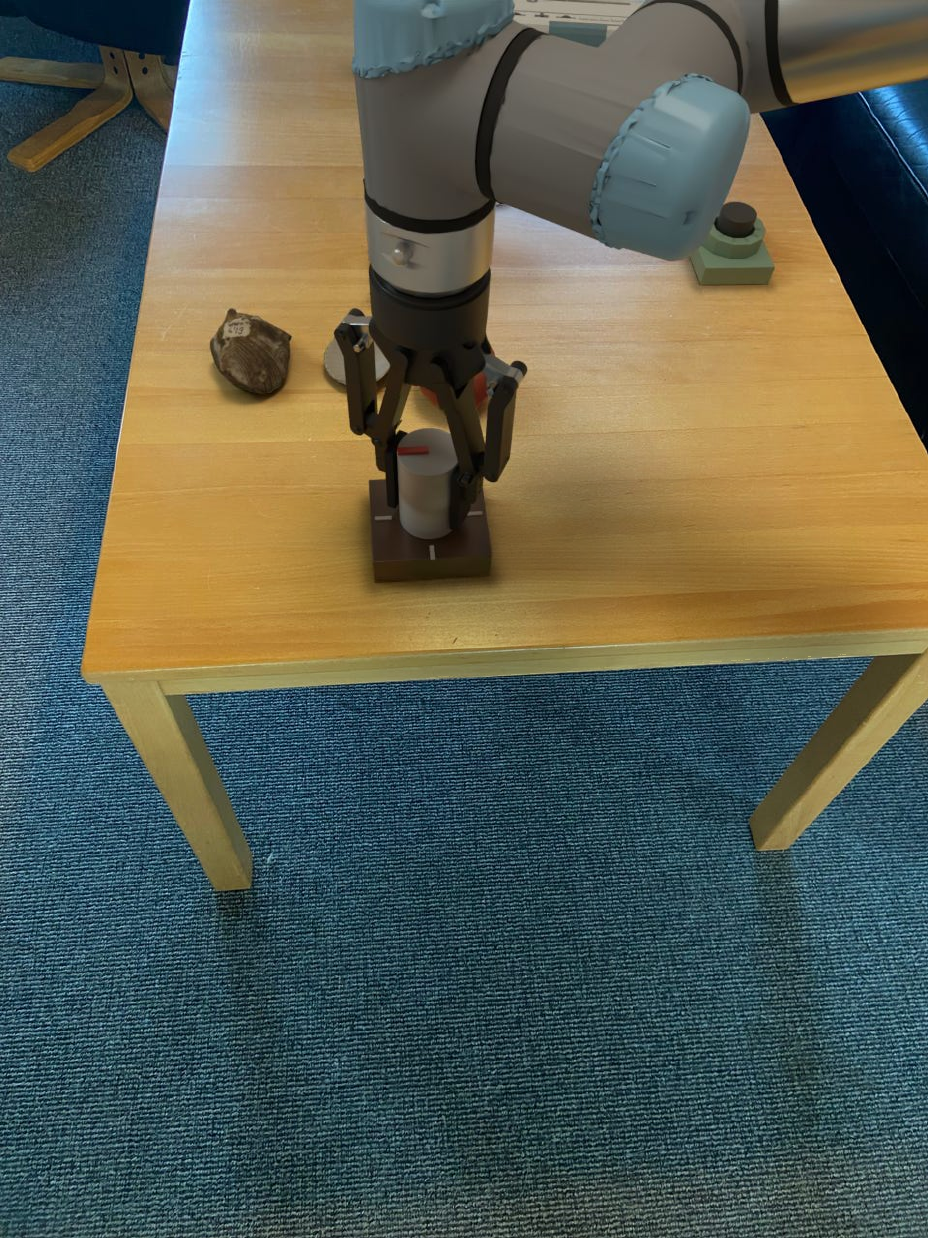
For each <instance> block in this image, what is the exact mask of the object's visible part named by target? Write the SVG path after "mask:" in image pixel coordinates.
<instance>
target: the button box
mask: <svg viewBox="0 0 928 1238" xmlns="http://www.w3.org/2000/svg"><path fill="white" fill-rule="evenodd" d="M719 214H720V213H719ZM719 214H718V215H717V217H716V219H715V222H714V224H713V226H712V228H711V231H710V232H709V234H708V236H707V238H706V239H705V241H704V242H703V244H702V245H701V246H700V247H699V248H698V250H697V251H696V252H694V253H693V254H692V255H691V256H689V258H690V260H691V263H692V266H693V269H694V273H695V275H696V278H697V280H698V283H699V286H721V285H722V286H723V285H724V286H725V285H726V286H727V285H728V286H729V285H769V284H770V283H769V282H770V280H771V278H772V276H773V273H774V270H775V268H776V266H775V263H774V261H773V259H772V256H771V255H770V252H769V250H768V247H767V245H766V243H765V241H764V238H765V234H766V232H767V230H766V226H765V225H764V223H763V220H761V219H760V217H759V218H758V216H757V217H756V220H755V223H754V226H753V228H752V231H751V234H750V235H749V236H748V237H746V238H732V237H729V236H725V235H723V234H722V233H720V232H719V231H718V230H717V229H716V223H717V220H718V217H719Z"/></svg>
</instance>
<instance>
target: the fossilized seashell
mask: <svg viewBox="0 0 928 1238" xmlns="http://www.w3.org/2000/svg"><path fill="white" fill-rule="evenodd" d="M292 338H293V336H292V335H291V334H290V333H288V332H287V331H286V330H284V329H282V328H280V327H278V326H276V325H274V324H272V323H270V322H268V321H267V320H265V319H263V318H261V317H260V316H259V315H253V314H248V313H244V312H238V311H237V310H236V309H235V308H229V309H228V310H227V312H226V316H225V318H224V320H223V321H222V324H221V325H220V326H219V327H218V329H217V331H216V333H215V334H214V335H213V337H212V338H210V341H209V349H210V350H209V351H210V354H211V356H212V360H213V363H214V366H215V367H216V369H217V370H218V372H219V373H220V374H221V376H223V377H224V378H225V380H227V381H228V382H229V383H230V384H232V385H234V386H235V387H238V388H241V389H245V390H247V391H248V392H251V393H254V394H269V393H272V392H273V391H275V390H277V389H279V387H280V386H281V385H282V384H283V382H284V381H285V378H286V375H287V373H288V370H289V362H290V359H291V344H290V342H291V340H292Z"/></svg>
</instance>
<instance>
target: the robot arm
mask: <svg viewBox="0 0 928 1238" xmlns="http://www.w3.org/2000/svg"><path fill="white" fill-rule="evenodd" d="M352 1H353V57H352V58H351V72H353V76H354V84H355V85H354V87H355V94H356V103H357V104H356V105H357V114H358V124H359V131H360V132H359V133H360V142H361V143H360V144H361V152H362V165H363V179H362V182H363V183H362V184H363V190H364V191H363V201H364V216H365V218H364V219H365V230H366V231H365V232H366V245H367V246H366V247H367V257H368V261H369V266H368V282H369V283H368V284H369V299H370V313H371V316H370V315H369V316H366V315H365V314H364V312H363V311H362V310H361V309H359V308H357V307H353V308H351V309H350V310H349V311H348V313H347V314H346V315H345V316H344V318H343V319H342V320H341V321H340V323H339V324H338V325H337V327H336V328H335V329H334V330H333V337H335V339H336V341H337V343H338V346H339V348H340V350H341V352H342V355H343V357H344V368H345V380H346V385H345V388H346V401H347V411H348V412H347V413H348V422H349V423H348V424H349V429H350V431H351V432H352V433H353V434H354V435H356V436H360V437H361V436H364V435H366V436H367V437H368V438H370V441H371V444H372V445H373V446H374V455H375V466H376V468H377V470H378V471H379V472H383V473H385V479H386V492H387V506H389V507H391V508H394V509H396V507H397V506H398V504H399V488H398V465H397V448H398V445H399V443H400V441H401V440H402V438H403V437H404V436H406V435H407V434H408V432H407V431H404V430H402V429H399V430H398V431H397V429H398V428H399V426H400V425H401V423H402V422H403V419H402V417H403V413H404V411H405V408H406V405H407V401H408V398H409V395H410V392H411V389H412V386H413V387H419V386H420V387H425V388H426V389H428V390H430V391H432V392H433V393H435V394H436V398H437V401H438V405H439V408H440V409H439V410H440V411H442V410H444V411H443V412H444V415H445V419H446V423H447V425H448V426H447V427H448V430H449V434H451V438H452V442H453V445H454V449H455V453H456V456H457V460H458V464H459V465H458V466H457V468H456V470H455V471H454V473H453V475H452V476H451V502H450V528H449V529H451V530H453V531H456V532H458V531H459V529H460V527H461V525H462V524H463V522H464V520H465V518H466V516H467V515H468V513H469V511H470V509H471V503H472V504H474V503H475V502H476V500H477V498H478V496H479V495H480V493H481V491H482V489H483V490H484V481H485V480H486V481H488V482H489V483H497V482H498V481H499V479H500V477H501V475H502V474H503V472H504V470H505V468H506V466H507V464H509V463H508V462H509V460H510V459H511V452H512V441H513V433H514V432H513V431H514V422H515V412H516V402H517V392H518V389H519V387H520V386H521V384H522V382H523V380H524V379H525V377H526V375H527V373H528V367H527V364H526V363H524V362H523V361H521V360H514V361H513V360H512V362H511V363H510V364H508V363H507V362H505V361H503V360H502V359H500V358H499V357H497V356H496V355H495V356H494V355H493V354H492V349H493V348H492V349H491V347H492V345H491V343H490V340H489V339H488V335H487V326H488V318H489V308H490V307H489V306H490V304H489V303H490V293H491V281H492V279H491V278H492V269H491V265H492V264H493V256H494V255H493V254H494V241H495V239H494V238H495V224H496V211H497V207H496V206H497V205H496V202H498V203H499V204H498V205H507V206H509V207H512V208H515V209H517V210H519V211H522V212H524V213H527V214H529V215H532V216H535V217H537V218H539V219H542V220H545V221H546V222H547V221H548V222H549V223H552V224H555V225H557V226H560V227H562V228H565V229H567V230H570V231H573V232H575V233H578V234H580V235H583V236H584V237H588V238H590V239H593V240H595V241H598V242H599V243H600V244H603V245H604V246H605V247H608V248H610V249H616V250H619V251H620V250H622V249H624V250H629V251H631V252H636V253H639V254H643V255H645V256H649V257H652V258H656V259H660V260H664V261H667V262H678V261H684V260H685V259H688V258H690V256H691V255H692V254H693V253H694V252H696V251H697V250H698V248H699V247H700V246H701V245H702V244H703V242H704V241H705V239H706V238H707V236H708V234H709V232H710V231H711V228H712V226H713V224H714V222H715V219H716V217H717V215H718V214H719V213H720V211H721V209H722V207H723V205H724V204H725V202H726V200H727V198H728V195H729V193H730V190H731V188H732V186H733V183H734V180H735V178H736V175H737V172H738V169H739V167H740V163H741V161H742V159H743V155H744V151H745V148H746V144H747V140H748V137H749V132H750V128H751V127H750V126H751V115H754V114H759V113H765V112H770V111H775V110H780V109H784V108H786V109H787V108H789V107H794V106H799V105H801V104H805V103H810V102H815V101H821V100H826V99H830V98H837V97H842V96H847V95H852V94H856V93H862V92H867V91H872V90H878V89H882V88H889V87H892V86H899V85H903V84H908V83H909V84H910V83H913V82H919V81H924V80H928V0H644V1H645V2H644V3H643V4H642V5H641V6H640V7H639V8H638V9H637V10H636V11H635V12H634V13H633V14H631V15H630V16H629V17H628V18H627V19H626V20H625V22H624V23H623V24H622V25H621V26H620V27H619V28H618V29H617V30H616V31H614V32H613V33H612V34H611V35H610V36H609V37H608V38H607V39H606V40H605V41H604V42H603V43H602V44H601V45H600V46H599V47H598V48H597V47H592V46H588V45H585V44H581V43H578V42H574V41H571V40H567V39H564V38H560V37H557V36H553V35H549V34H547V33H544V32H541V31H538V30H536V29H535V28H532V27H529V26H526V25H523V24H520V23H518V22H516V21H515V20H513V18H514V15H515V13H514V11H513V9H514V7H515V4H514V2H513V0H352ZM374 342H375V343H376V345H377V346H378V348H379V349H380V351H381V352H382V353H383V355H384V356H385V358H386V359H387V361H388V362H389V364H390V368H389V371H388V372H387V374H386V375H387V376H386V377H385V378H386V379H385V381H384V386H383V387H384V389H385V390H384V392H383V396H382V399H381V403H380V407H379V408H378V387H377V381H376V367H375V347H374ZM480 372H482V373H483V374H484V375H485V376H486V379H487V381H486V386H487V388H488V389H487V391H486V393H487V395H488V397H490V399H489V401H488V404H487V410H486V411H487V412H486V425H485V437H484V433H483V429H482V425H481V420H480V416H479V412H478V407H477V406H476V402H475V398H474V393H473V386H474V377H475V376H476V375H477V374H479V373H480ZM420 387H419V388H420ZM378 409H379V410H378ZM484 479H485V480H484Z"/></svg>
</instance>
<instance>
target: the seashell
mask: <svg viewBox="0 0 928 1238" xmlns="http://www.w3.org/2000/svg"><path fill="white" fill-rule="evenodd" d="M374 347H375V367H376V382H378V381H380V380H381V379H383V377H384V376H386V375H387V374H388V371H389V368H390V364H389V362H388V361H387V359H386V358H385V356H384V355H383V353H382V352H381V351H380V349H379V348H378V346H377V345H376V343H375V342H374ZM323 367H324V368H325V372H326V373H327V375H328V377H330V378H331V379H332V380H333V381H336V382H337V383H338V384H342V385H344V386H346V380H345V368H344V357H343V355H342V352H341V350H340V348H339V346H338V343H337V341H336V339H335V336H333V339H332V340H330V342H329V344H328V345H327V346H326V349H325V350H324V352H323Z"/></svg>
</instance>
